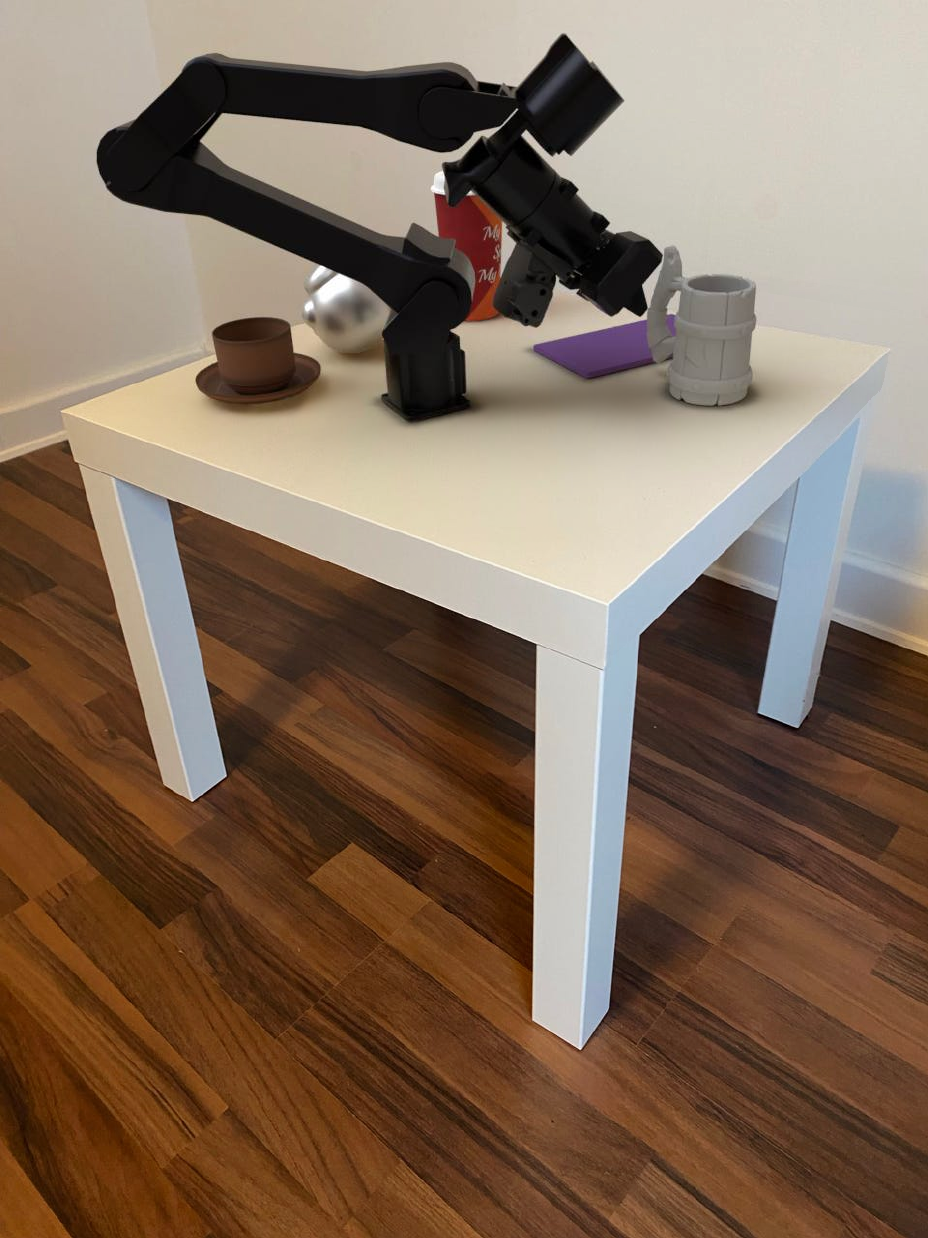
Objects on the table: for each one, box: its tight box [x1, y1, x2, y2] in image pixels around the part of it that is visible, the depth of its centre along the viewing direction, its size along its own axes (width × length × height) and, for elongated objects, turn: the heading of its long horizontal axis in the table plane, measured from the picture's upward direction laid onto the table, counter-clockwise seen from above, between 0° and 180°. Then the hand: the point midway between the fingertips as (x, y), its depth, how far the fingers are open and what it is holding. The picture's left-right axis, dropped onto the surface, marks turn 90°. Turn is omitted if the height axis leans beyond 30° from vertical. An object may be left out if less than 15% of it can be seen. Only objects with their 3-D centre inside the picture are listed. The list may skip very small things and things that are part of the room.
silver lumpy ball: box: [301, 263, 391, 354], centre depth 101 cm, size 9×10×10 cm
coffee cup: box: [430, 170, 503, 322], centre depth 109 cm, size 8×8×15 cm
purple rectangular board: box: [533, 313, 676, 380], centre depth 101 cm, size 18×10×1 cm, turn 118°
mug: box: [646, 244, 757, 407], centre depth 89 cm, size 8×12×12 cm, turn 36°
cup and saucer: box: [194, 316, 322, 406], centre depth 94 cm, size 12×12×6 cm
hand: (642, 311), depth 90 cm, fingers closed
